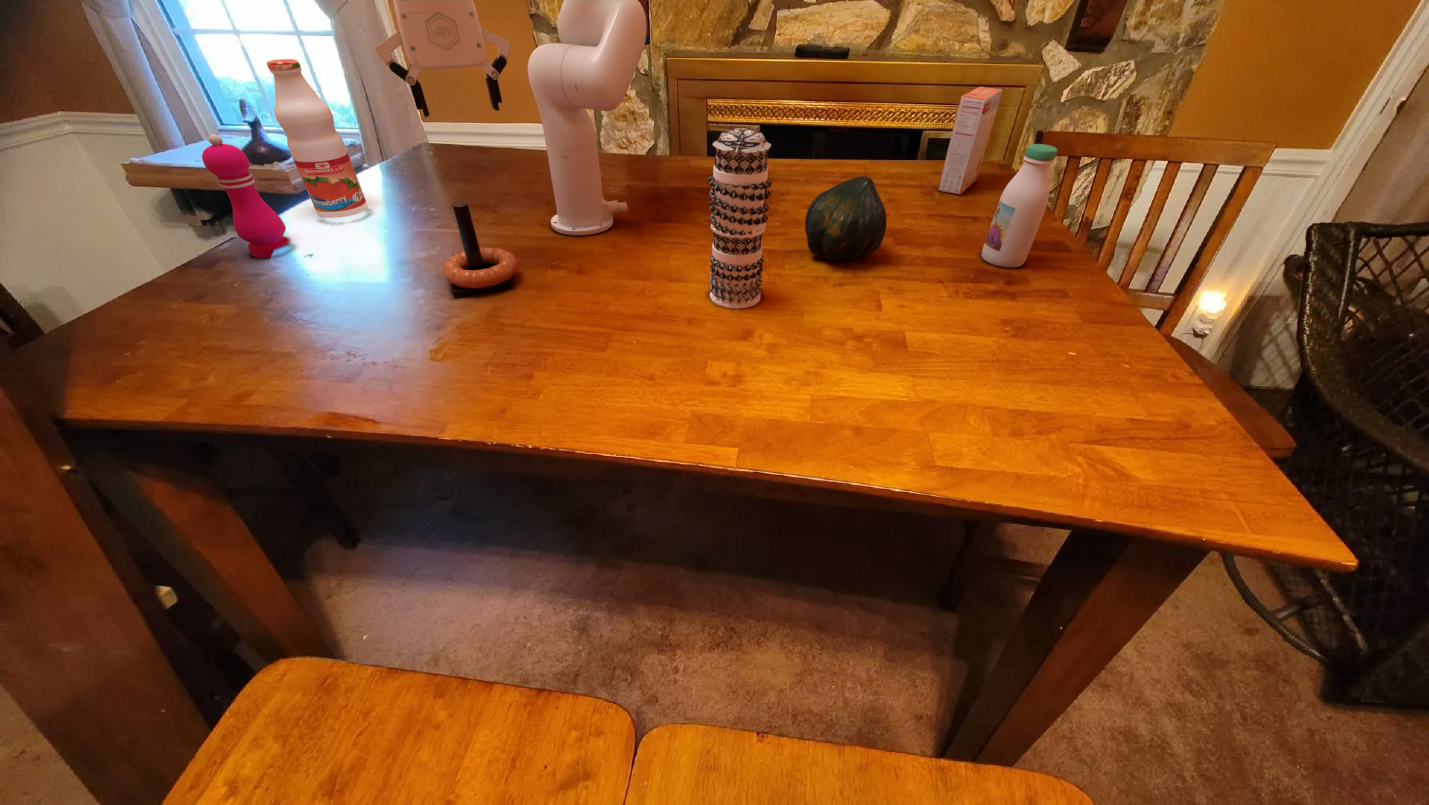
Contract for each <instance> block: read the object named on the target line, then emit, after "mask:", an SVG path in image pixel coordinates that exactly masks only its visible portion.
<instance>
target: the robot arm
mask: <svg viewBox="0 0 1429 805" xmlns="http://www.w3.org/2000/svg"><path fill="white" fill-rule="evenodd" d="M392 3H393V8H394V14H395V16H396V22H397V25H398V29H399V30H397V31H396V32H395V33H393V34H392V35H390V36H389V37H387V38H386V39H384V40H383V41H381V43H379V44H378V45H376V46H375V52H376V54H377V55H378V57H379V58H380V60H382V62H384V64H385V65H386V67H388V69H389V70H390V71H391V72H392V73H393V74H395V75H396V76H397V77H399V78H400V79H402V81H404V82H406V84H408V85H409V87H410V92H411V95H412V97H413V101H414V105H415V107H416V110H417V111H418V110H422V112H423V116H424V118H428V117H429V116H430V112H429V108H428V105H427V102H426V97H425V94H424V91H423V88H422V85H421V82H419V80H418V79H419V76H420V75H421V73H422V71H423V70H440V69H441V70H442V69H459V68H473V67H480V68H481V69H482V70H483V71H484V72H485V75H486V77H485V83H486V87H487V88H486V89H487V92H488V96H489V100H490V105H491V107H492V109H493V110H494V111H497V112H498V111H500V105H499V104H502V103H503V99H502V95H501V89H500V85H499V79H500V75H501V74H502V72H503V70H504V69H505V67H506V66H507V64H508V60H509V59H508V58H509V55H510V52H511V48H512V45H511V42H510V41H509V40H507V39H505V38H504V37H501V36H499V35H497V34H495V33H493V32H491V31H489V30H487V29H485V28H483V27H482V26H481V23H480V18H479V15H478V12H477V9H476V6H475V2H474V0H392ZM556 28H557V34H558V36H559V39H560V41H561V42H562V43H560V42H559V43H558V42H551V43H545V44H542V45H539V46H538V47H536V48H535V49H534V50H533V51H532V52H531V54H530V56H529V58H528V62H527V76H528V80H529V81H528V82H529V85H530V88H531V91H532V94H533V96H534V100H535V102H536V104H537V108H538V112H539V116H540V120H541V125H542V130H543V136H544V142H545V147H546V148H545V149H546V154H547V159H548V165H549V172H550V178H551V185H552V191H553V196H554V203H555V208H556V214H555V215H553V217H552V218H551V219H550V225H551V226H550V227H551V229H553V230H554V231H555V232H557V233H559V234H561V235H568V236H589V235H595V234H599V233H602V232H605V231H607V230H608V229H610V228H612V226H613V225H614V217H613V215H614V214H615V213H618V214H619V213H620V214H621V213H627V212H628V211H629V210H628V204H627V201H623V202H618V200H611V201H607V200H605V198H604V192H603V183H602V176H601V167H600V166H601V165H600V156H599V148H598V137H597V132H596V127H595V125H594V122H593V119H592V117H591V116H590V114H589V112H588V111H587V110H593V111H602V112H610V111H613V110H615V109H618V107H619V106H620V105H621V104H622V103H623V101H624V99H625V97H626V95H627V93H628V90H629V87H630V85H631V82H632V81H633V77H634V75H635V74H636V70H637V67H638V64H639V63H640V60H641V57H642V54H643V52H644V48H645V46H646V45H645V44H646V40H647V17H646V13H645V10H644V7H643V6H642V4H641V2H640V1H639V0H563V2H562V4H561V7H560V10H559V13H558V17H557V26H556ZM485 42H487V43H489V44H492V45H494V46H496V47H497V50H498V52H497V56H496V57H495V59H494V60H493V62H492V63H490V62H488V52H487V47H486V43H485ZM401 45H403V47H404V51H405V54H406V56H407V60H408V61H409V64H408V67H407V69H406V68H405V67H404V66H402V65H401V64H400V63H398V62H397V61H396V59H395V58H394V56H392V52H394V51H395V50H396V49H397V48H399V47H401Z"/></svg>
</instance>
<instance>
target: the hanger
mask: <svg viewBox="0 0 1429 805" xmlns="http://www.w3.org/2000/svg"><path fill="white" fill-rule="evenodd" d="M451 209H452V213H453V215H454V219H455V223H456V226H457V227H456V228H457V230H458V234H459V237H460V241H461V245H462V247H463V251H464V252H465V255H466V259H467V262H468V266H469V268H468V269H466V270H481V269H488V268H491V267H493V266H495V265H493V264H484V263H483V259H482V255H481V251H480V248H481V247H480V244H479V240H478V237H477V233H476V230H475V225H474V222H473V221H474V220H473V218H472V214H471V211H470V206H469V203H468V202H467V201H456V202H453V203H452V204H451ZM450 285H451V290H452V295H453V298H454V299H458V298H464V297H469V296H475V295H482V294H488V293H492V292H499V291H505V290H510V289H512V283H511V279H508V280H506V281H504V282H502V283H499V284H497V285H494V286H489V287H483V288H464V287H459V286H457V285H455V284H453V283H450Z"/></svg>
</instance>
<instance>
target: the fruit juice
mask: <svg viewBox="0 0 1429 805" xmlns="http://www.w3.org/2000/svg"><path fill="white" fill-rule="evenodd" d="M266 66H267V69H268V70H269V72H270V73H271V74H272V75H273V79H274V80H273V81H274V94H275V95H274V96H275V104H274V109H273V110H274V111H273V112H274V116H275V120H276V122H277V123H278V124H279V126H280V128H281V129H282V130H283V132H284V133H285V135H286V142H287V147H288V150H289V153H290V155H291V158H292V160H293V162H294V164H295V167H296V169H297V172H298V173H299V176H300V178H301V181H302V182H303V185H304V187H305V189H306V192H307V194H308V196H309V198H310V201H311V203H312V205H313V208H314V210H315V213H316V214H317V216H319V217H322V218H328V219H331V218H332V219H334V218H336V219H337V218H345V217H350V216H354V215H357V214H360V213H362V212H364V211H366V210H367V209H368V208H369V205H368V202H367V200H366V197H365V194H364V192H363V189H362V186H361V183H360V181H359V179H358V176H357V172H356V171H355V168H354V165H353V163H352V161H351V157H350V155H349V152H348V149H347V147H346V144H345V142H344V140H343V138H342V136H341V135H340V134H339V133H338V132H337V130H336V127H335V119H334V115H333V113H332V110H331V108H330V107H329V106H328V105H327V103H326V102H324V101H323V100H322V99H321V97H319V95H318V94H317V93H316V91H315V90H314V89H313V88H312V86H311V85H310V84H309V82H308V81H307V80H306V78H305V77H304V75H303V74H302V68H301V67H302V66H301V64H300V62H299V61H298V59H292V58H285V59H284V58H282V59H271V60H267V61H266Z"/></svg>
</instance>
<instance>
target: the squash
mask: <svg viewBox="0 0 1429 805" xmlns="http://www.w3.org/2000/svg"><path fill="white" fill-rule="evenodd" d="M875 185H876V184H875V182H874V181H873V180H872V178H871V176H865V175H863V176H856V177H852V178H850V179H847V180H844V181H842V182H840V183H838V184H836V185H834V186H832V187H829V189H826V190H825V191H824V190H823V191H822V192H821V193H819V194H818V195H817V196H815V197H814V199H813V200H812V201H811V203H810V205H809V206H808V208H807V211H806V214H805V219H804V220H805V221H804V230H805V232H804V233H805V236H806V242H807V247H808V249H809V251H810V252H811V253H812V254H813V255H814V256H816V257H817V258H818V257H819V258H827V259H828V260H830V261H837V260H839V259H841V258H844V259H845V260H855V259H857V258H862V257H867V256H869V255H872V254H873V253H874V252H876V251H877V250H879V248H880V247H881V245H882V243H883V241H884V238H885V235H886V231H887V220H888V219H887V212H886V209H885V205H884V203H883V201H882V198H881V196H880V195H879V193H878V190H877V187H876V186H875Z"/></svg>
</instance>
